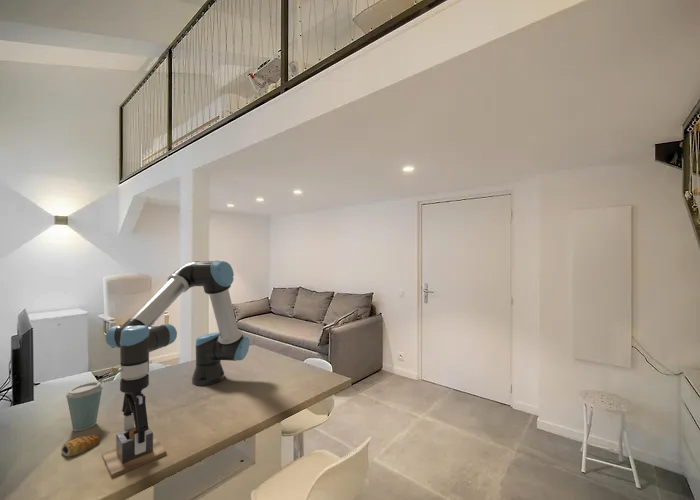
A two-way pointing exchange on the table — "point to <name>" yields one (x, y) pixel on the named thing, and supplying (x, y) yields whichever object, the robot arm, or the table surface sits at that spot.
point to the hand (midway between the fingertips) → (134, 443)
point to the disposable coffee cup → (84, 405)
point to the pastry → (79, 445)
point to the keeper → (118, 468)
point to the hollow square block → (131, 446)
